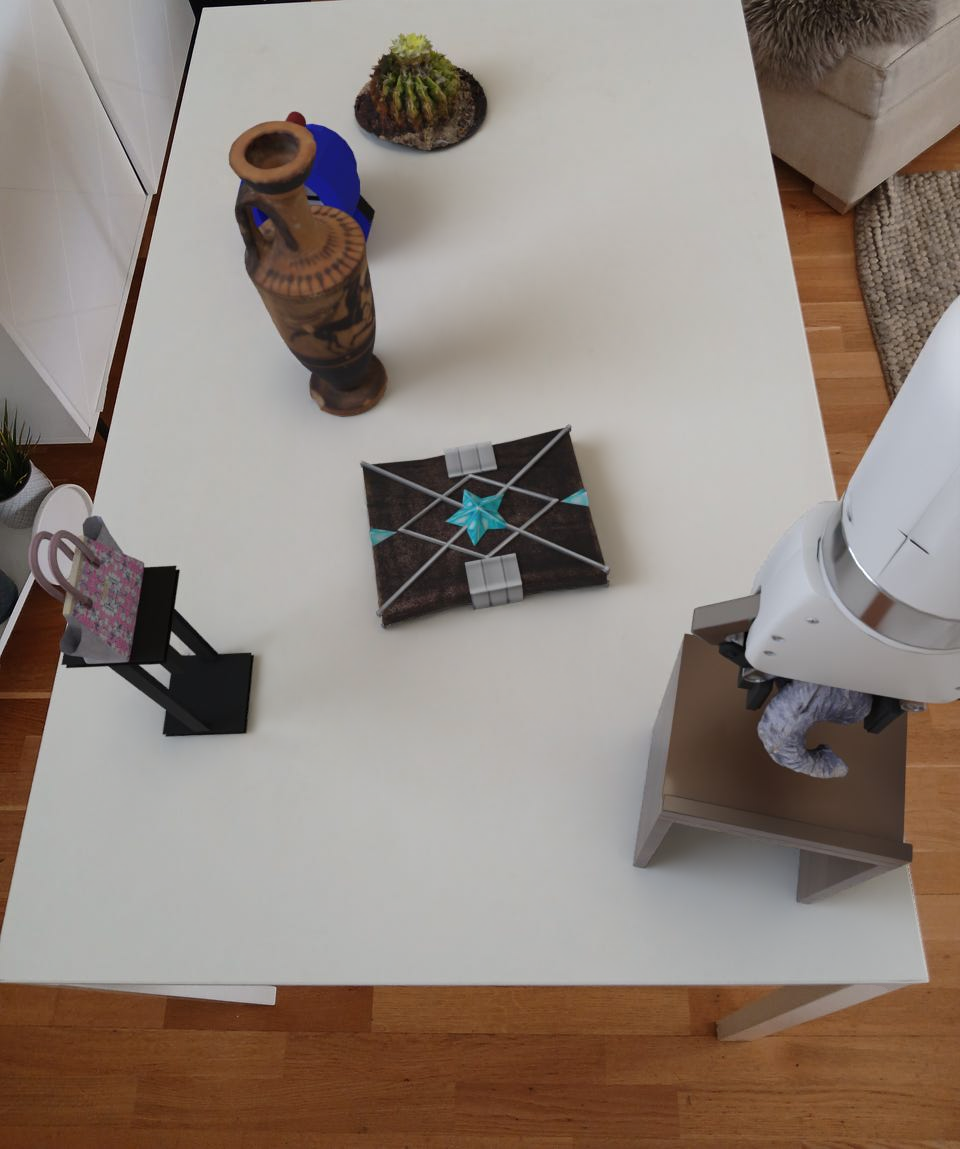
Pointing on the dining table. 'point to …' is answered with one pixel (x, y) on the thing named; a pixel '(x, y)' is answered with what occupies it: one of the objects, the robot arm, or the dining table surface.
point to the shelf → (771, 780)
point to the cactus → (420, 97)
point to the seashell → (808, 724)
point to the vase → (308, 267)
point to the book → (480, 526)
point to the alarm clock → (331, 177)
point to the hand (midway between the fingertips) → (812, 694)
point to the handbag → (142, 633)
